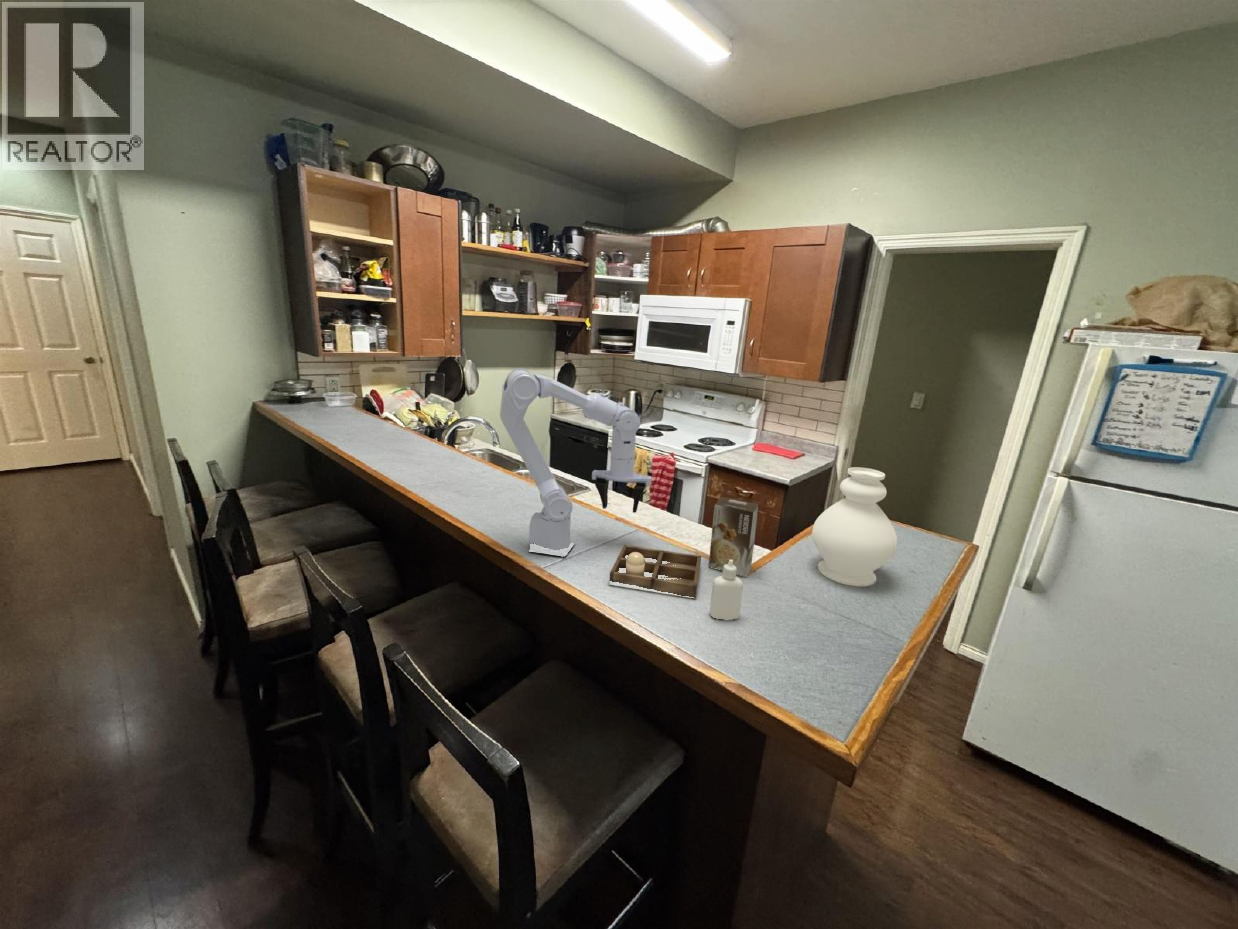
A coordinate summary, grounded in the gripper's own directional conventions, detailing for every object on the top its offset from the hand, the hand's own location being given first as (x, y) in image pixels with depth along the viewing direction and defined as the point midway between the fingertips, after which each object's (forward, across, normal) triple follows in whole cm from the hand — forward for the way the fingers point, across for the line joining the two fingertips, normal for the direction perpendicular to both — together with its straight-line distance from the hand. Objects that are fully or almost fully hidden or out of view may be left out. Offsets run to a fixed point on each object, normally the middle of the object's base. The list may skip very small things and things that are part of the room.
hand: (619, 509), depth 121 cm
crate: (+9, -12, +14) cm, 20 cm away
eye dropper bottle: (+10, -27, +25) cm, 38 cm away
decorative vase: (+10, -55, -2) cm, 56 cm away
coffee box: (+10, -28, +4) cm, 30 cm away
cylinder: (+9, -8, +17) cm, 20 cm away
